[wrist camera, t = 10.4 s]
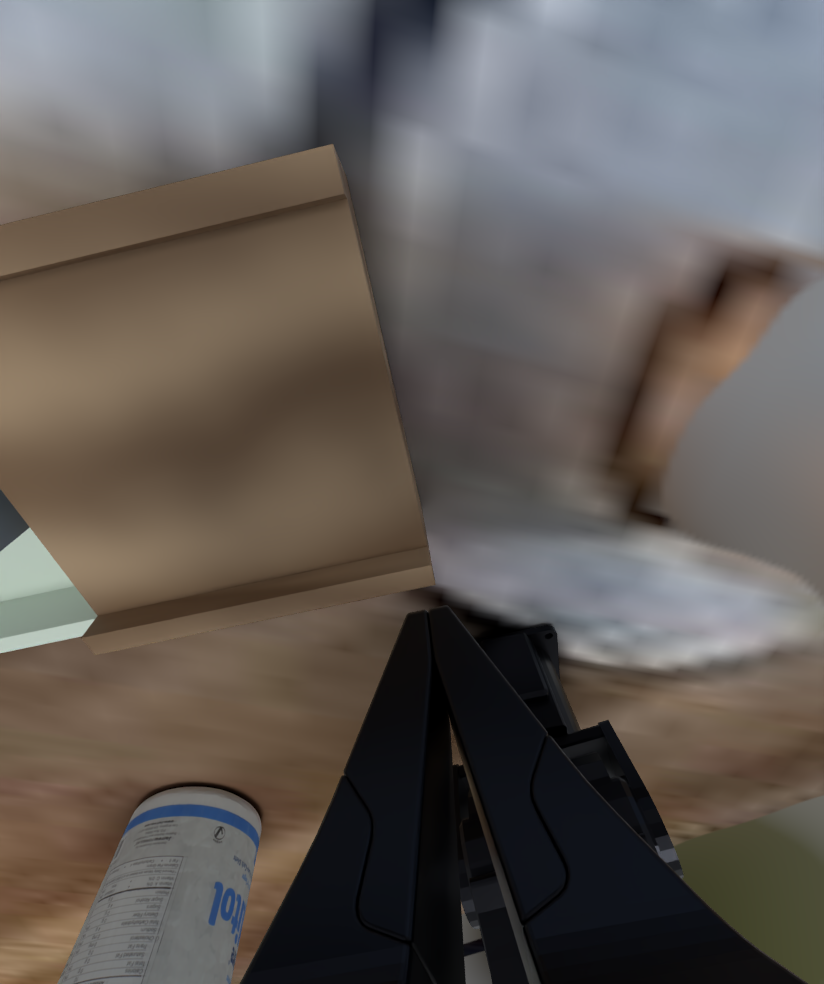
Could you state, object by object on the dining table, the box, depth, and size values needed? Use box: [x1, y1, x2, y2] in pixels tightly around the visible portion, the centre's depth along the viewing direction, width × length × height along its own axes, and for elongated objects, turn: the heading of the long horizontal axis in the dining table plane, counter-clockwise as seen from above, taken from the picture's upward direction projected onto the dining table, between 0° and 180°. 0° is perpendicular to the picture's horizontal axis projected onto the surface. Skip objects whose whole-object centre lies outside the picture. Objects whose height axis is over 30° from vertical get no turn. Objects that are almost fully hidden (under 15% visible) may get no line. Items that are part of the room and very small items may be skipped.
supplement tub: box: [58, 786, 261, 984], centre depth 28 cm, size 10×10×15 cm
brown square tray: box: [0, 144, 435, 655], centre depth 17 cm, size 14×14×6 cm
